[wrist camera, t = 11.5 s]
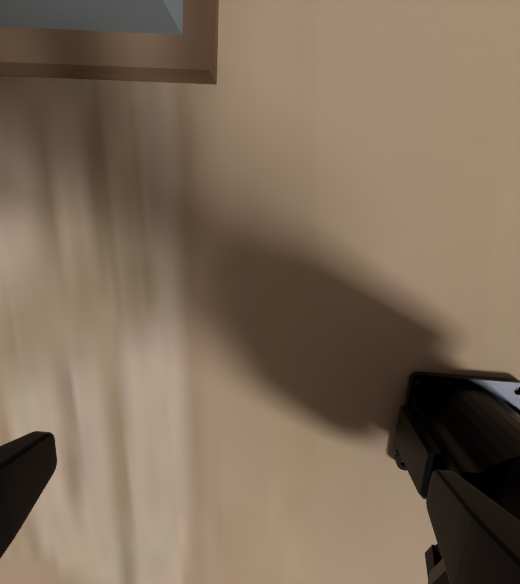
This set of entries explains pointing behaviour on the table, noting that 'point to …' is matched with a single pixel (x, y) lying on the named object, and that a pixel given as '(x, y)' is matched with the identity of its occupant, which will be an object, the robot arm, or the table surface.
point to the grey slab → (95, 15)
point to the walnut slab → (118, 51)
